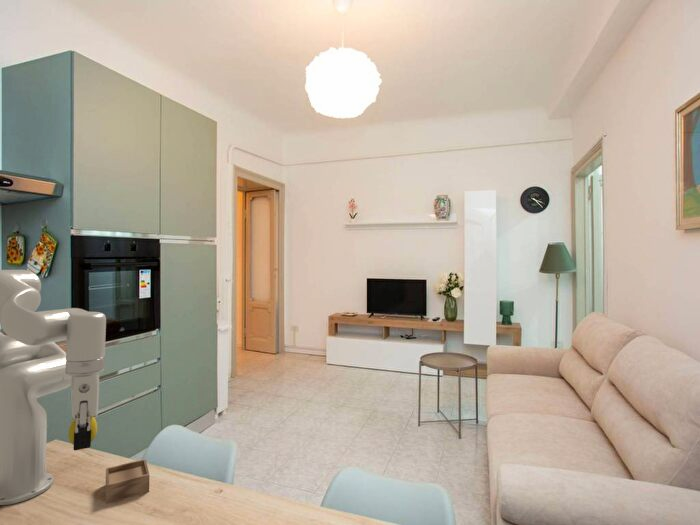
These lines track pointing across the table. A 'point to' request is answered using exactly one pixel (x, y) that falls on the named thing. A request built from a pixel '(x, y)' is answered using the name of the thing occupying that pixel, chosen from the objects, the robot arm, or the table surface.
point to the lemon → (92, 426)
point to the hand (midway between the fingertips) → (82, 441)
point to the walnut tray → (126, 480)
